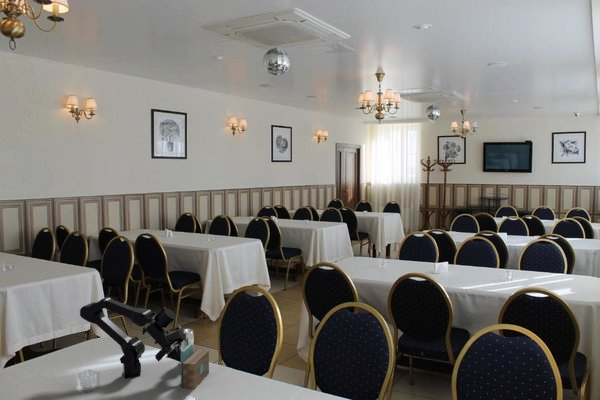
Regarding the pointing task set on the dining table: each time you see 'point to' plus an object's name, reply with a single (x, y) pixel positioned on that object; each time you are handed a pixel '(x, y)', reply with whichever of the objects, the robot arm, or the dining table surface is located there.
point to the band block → (194, 368)
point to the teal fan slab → (186, 353)
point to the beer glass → (187, 339)
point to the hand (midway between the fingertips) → (184, 362)
